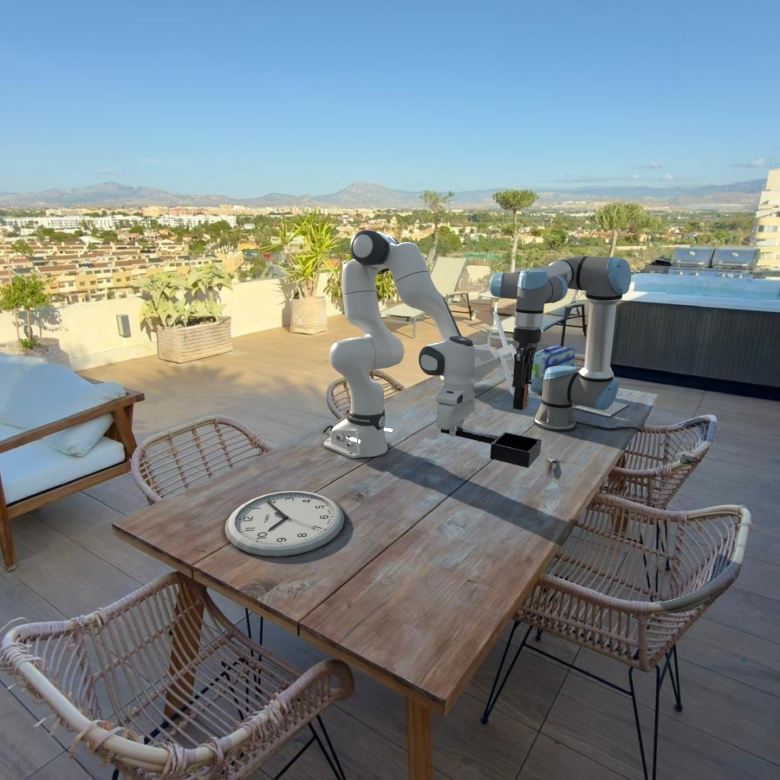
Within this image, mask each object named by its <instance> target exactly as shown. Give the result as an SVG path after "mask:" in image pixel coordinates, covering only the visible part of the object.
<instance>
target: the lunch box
mask: <svg viewBox="0 0 780 780" xmlns="http://www.w3.org/2000/svg"><path fill="white" fill-rule="evenodd" d="M575 352H576V351H575V349H574V348H573V347H567V346H561V345H553V346H549V347H547V348H543V349H541V350H538V351H537V352H536V351H535V355H534V363H533V370H532V379H531V382H532V384H529V391H531V392H532V393H537V394H542V391H543V381H544V380H543V379H544V375H545V371H546V369H548V368H550V367H554V366H573V367H575V357H576V354H575Z"/></svg>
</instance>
